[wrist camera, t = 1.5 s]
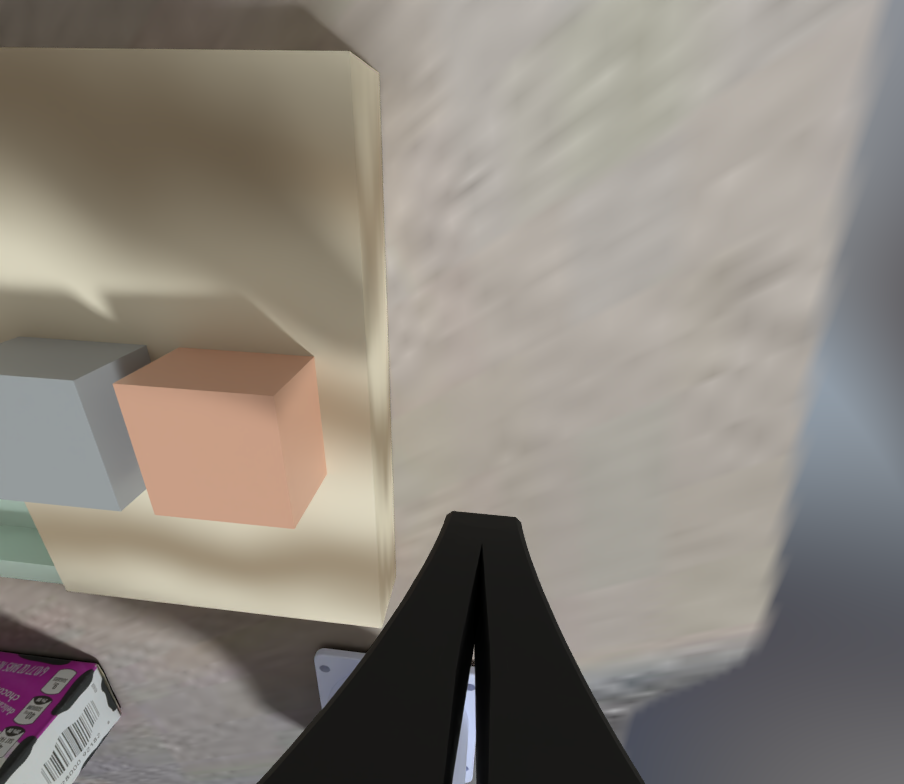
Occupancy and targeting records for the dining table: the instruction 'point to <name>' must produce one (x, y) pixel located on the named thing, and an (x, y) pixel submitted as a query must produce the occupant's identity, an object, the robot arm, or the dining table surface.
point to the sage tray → (23, 546)
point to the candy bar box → (51, 717)
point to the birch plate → (211, 291)
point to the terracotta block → (227, 435)
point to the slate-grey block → (67, 423)
